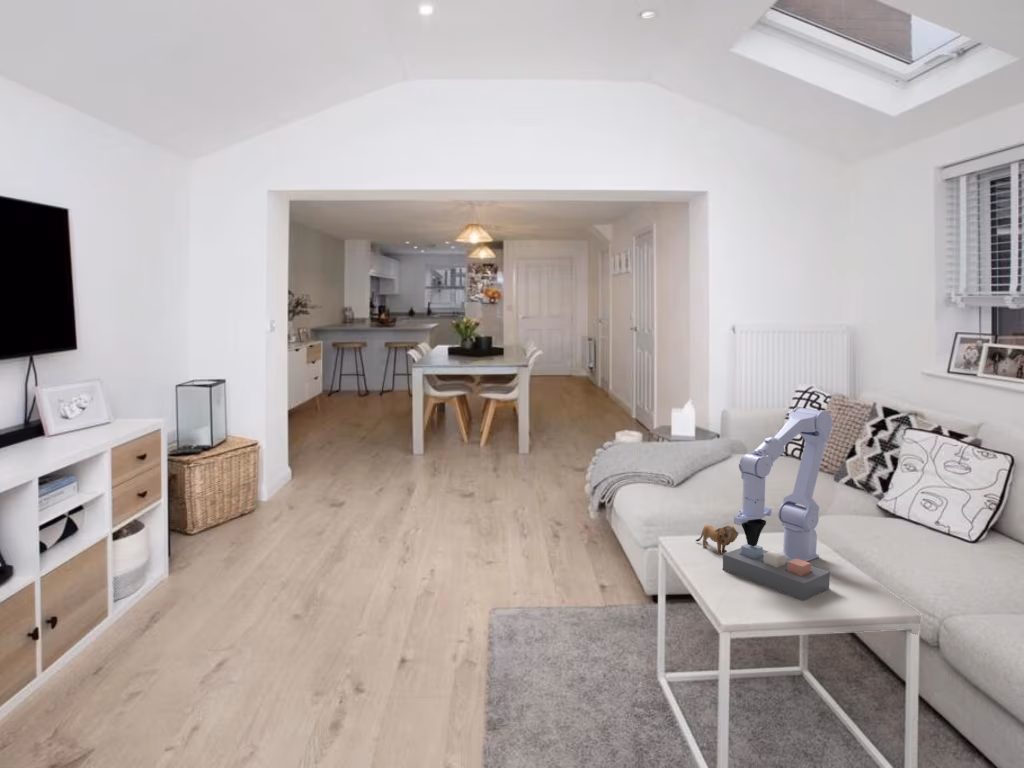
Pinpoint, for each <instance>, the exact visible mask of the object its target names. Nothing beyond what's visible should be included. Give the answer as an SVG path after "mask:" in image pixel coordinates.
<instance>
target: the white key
mask: <svg viewBox="0 0 1024 768" xmlns="http://www.w3.org/2000/svg"><path fill="white" fill-rule="evenodd" d="M763 563H765V564H768V565H771V566H774V567H776V568H779V567H781V566H783V565H786V555H785V554H782V553H781V552H779V551H776V550H773V549H772V550H769V552H767V553H764V561H763Z"/></svg>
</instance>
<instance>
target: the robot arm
mask: <svg viewBox="0 0 1024 768" xmlns="http://www.w3.org/2000/svg"><path fill="white" fill-rule="evenodd" d="M787 419H788V421H787V422H786V423H785V424H784V425H783V427H782V428H780V430H779V431H778V433H776V434H775V435H774V437H766V438H764V439H763V442H762V443H761V444H759V446H757V447H756V448H755V450H753V451H752V452H751V453H746V454H743V456H741V458H740V460H739V461H740V462H739V463H738V470H739V471H740V474H741V479H742V503H741V504H742V505H741V506H742V508H741V509H738V514H737V515H736V516H733V524H734V525H737V526H741V527H742V529H743V531H744V535H745V539H746V544H748V545H751V546H756V545H758V543H759V539H760V536H761V533H762V531H763V530H764V527H765V526H766V524H767V520H766V519H764V518H765V517H766V516H767V517H771V516H772V508H769V507H765V503H766V502H765V501H766V499H765V497H766V495H765V494H766V477H767V476H768V475H769V474H770V473H771V469H772V467H773V465H774V463H775V461H777V459H779V457H780V456H781V455H782V454H784V453H785V446H786V445H787V444H788V443H789V442H791V441H792V440H793V439H794V438H796V437H797V436H798V435H800V436H801V437H802V438H803V440H804V442H805V443H804V446H803V451H802V454H801V455H802V456H801V458H800V463H799V466H798V471H797V475H796V479H795V483H794V485H793V490H792V493H790V494H788V495H786V496H784V497H783V499H782V503H781V505H780V506H779V508H778V510H777V517H778V520H779V521H780V522H781V526H782V527H783V549H782V551H781V552H780V553H782V554H785V555H786V557H787V558H790V559H796V558H797V559H800V560H803V561H806V562H809V561H812V560H815V559H817V558H819V557H820V554H817V544H818V543H817V542H818V541H817V540H818V535H817V532H816V530H815V528H816V527H817V526H818V524H819V510H820V505H818V504H817V502H816V501H815V500H814V499H813V497H814V491H815V487H816V484H817V480H818V476H819V471H820V468H821V464H822V459H823V456H824V452H825V448H826V444H827V441H828V440H829V438H830V434H831V430H832V427H833V424H834V421H833V418H832V416H831V414H830V413H829V412H828V411H827V410H820V409H819V410H817V409H809V408H804V407H800V406H795V408H794V409H793V410H792V411H791V412H790V413H789V414H788V418H787ZM798 504H799V505H798Z"/></svg>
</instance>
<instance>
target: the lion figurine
mask: <svg viewBox="0 0 1024 768" xmlns="http://www.w3.org/2000/svg"><path fill="white" fill-rule="evenodd" d="M738 537H739V532H738V531H737V530H736V528H735V526H734V525H726V526H722V527H719V528H717V529H716V528H714V526H712V525H709V524H706V525H704V526H703V528H702V532H701V534H700V536H699V538H697V539H695V542H700V541H701V539H702V548H704V549H708V547H707V545H706V544H707V543H708V544H709V542H708V541H707V540H708V539H710V540H711V541H713V542H714V543H716V545H717V546H716V547H717V555H719V554H722V555H723V553H724V552H726V553H728V550H726V549H725V548H726V546H729V545H730V544H731V543H733V542H735V541H736V539H737V538H738ZM722 551H724V552H722Z"/></svg>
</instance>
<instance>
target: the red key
mask: <svg viewBox="0 0 1024 768" xmlns="http://www.w3.org/2000/svg"><path fill="white" fill-rule="evenodd" d="M811 566H812V563H811V562H809V561H807V562H806V561H803V560H800V559H797V558H796V559H793V560H791V561H788V567H787V571H788V572H791V573H793V574H796V575H799V576H802V577H803V576H805V575H808V574H810V569H811Z"/></svg>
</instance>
